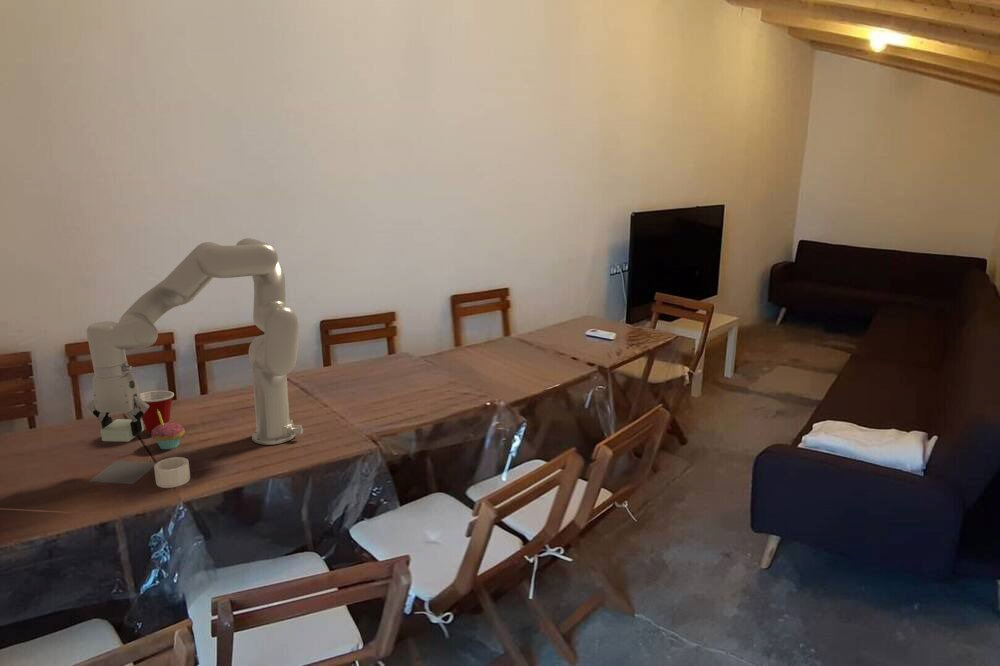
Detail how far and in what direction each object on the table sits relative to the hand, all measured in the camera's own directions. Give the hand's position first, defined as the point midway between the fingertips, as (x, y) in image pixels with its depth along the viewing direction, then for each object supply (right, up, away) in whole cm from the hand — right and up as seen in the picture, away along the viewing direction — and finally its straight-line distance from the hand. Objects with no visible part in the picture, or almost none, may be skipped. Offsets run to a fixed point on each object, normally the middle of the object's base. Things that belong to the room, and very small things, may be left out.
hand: (123, 433), depth 175 cm
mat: (-1, -11, +2) cm, 11 cm away
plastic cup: (-6, -4, +29) cm, 30 cm away
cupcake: (+3, -7, +19) cm, 20 cm away
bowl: (+14, -12, -1) cm, 19 cm away
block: (0, -1, 0) cm, 1 cm away
